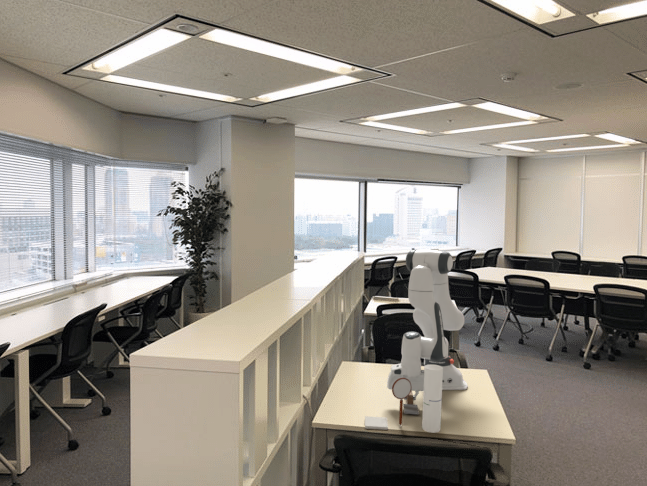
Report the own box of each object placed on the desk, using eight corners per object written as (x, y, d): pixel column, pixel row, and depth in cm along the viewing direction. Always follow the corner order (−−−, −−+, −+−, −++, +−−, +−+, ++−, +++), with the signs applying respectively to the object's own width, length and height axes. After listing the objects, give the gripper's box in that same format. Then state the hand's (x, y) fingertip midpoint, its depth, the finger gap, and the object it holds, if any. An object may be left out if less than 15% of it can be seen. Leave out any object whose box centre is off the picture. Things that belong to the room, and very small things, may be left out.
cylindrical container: (439, 433, 195) (441, 371, 193) (420, 430, 197) (423, 368, 195) (441, 426, 201) (444, 365, 200) (423, 423, 204) (426, 363, 202)
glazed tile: (386, 417, 206) (387, 427, 197) (386, 421, 206) (387, 431, 197) (365, 416, 207) (365, 425, 198) (364, 420, 207) (364, 429, 198)
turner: (401, 394, 232) (401, 385, 232) (414, 394, 232) (414, 386, 231) (404, 413, 211) (404, 404, 210) (418, 414, 210) (419, 405, 210)
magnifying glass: (391, 428, 198) (393, 379, 197) (389, 426, 200) (391, 378, 198) (411, 425, 201) (412, 377, 200) (408, 424, 203) (410, 376, 201)
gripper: (433, 368, 223) (432, 398, 224) (387, 365, 225) (386, 395, 226) (435, 372, 216) (434, 403, 218) (388, 370, 218) (387, 401, 220)
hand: (409, 399), depth 222 cm, fingers closed on turner, 2 cm apart
